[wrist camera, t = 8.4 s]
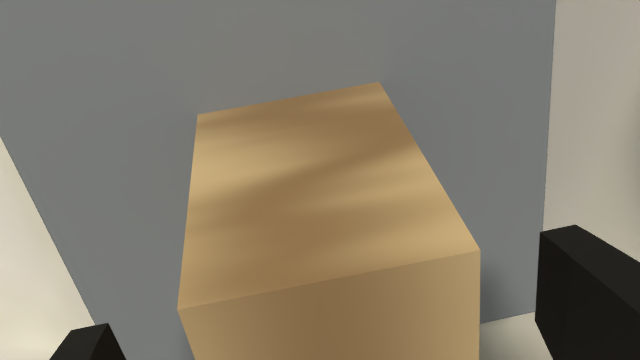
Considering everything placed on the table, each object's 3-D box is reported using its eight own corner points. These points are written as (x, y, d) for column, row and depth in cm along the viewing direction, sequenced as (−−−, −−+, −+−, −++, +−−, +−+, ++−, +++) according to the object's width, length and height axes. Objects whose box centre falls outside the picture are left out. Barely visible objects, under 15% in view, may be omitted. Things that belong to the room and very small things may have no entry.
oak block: (379, 81, 13) (480, 250, 8) (392, 228, 15) (477, 436, 10) (197, 114, 13) (177, 309, 7) (236, 258, 15) (240, 486, 10)
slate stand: (509, -158, 13) (564, -155, 11) (503, 257, 19) (537, 311, 17) (-32, -55, 13) (-85, -32, 10) (143, 334, 19) (133, 398, 17)
